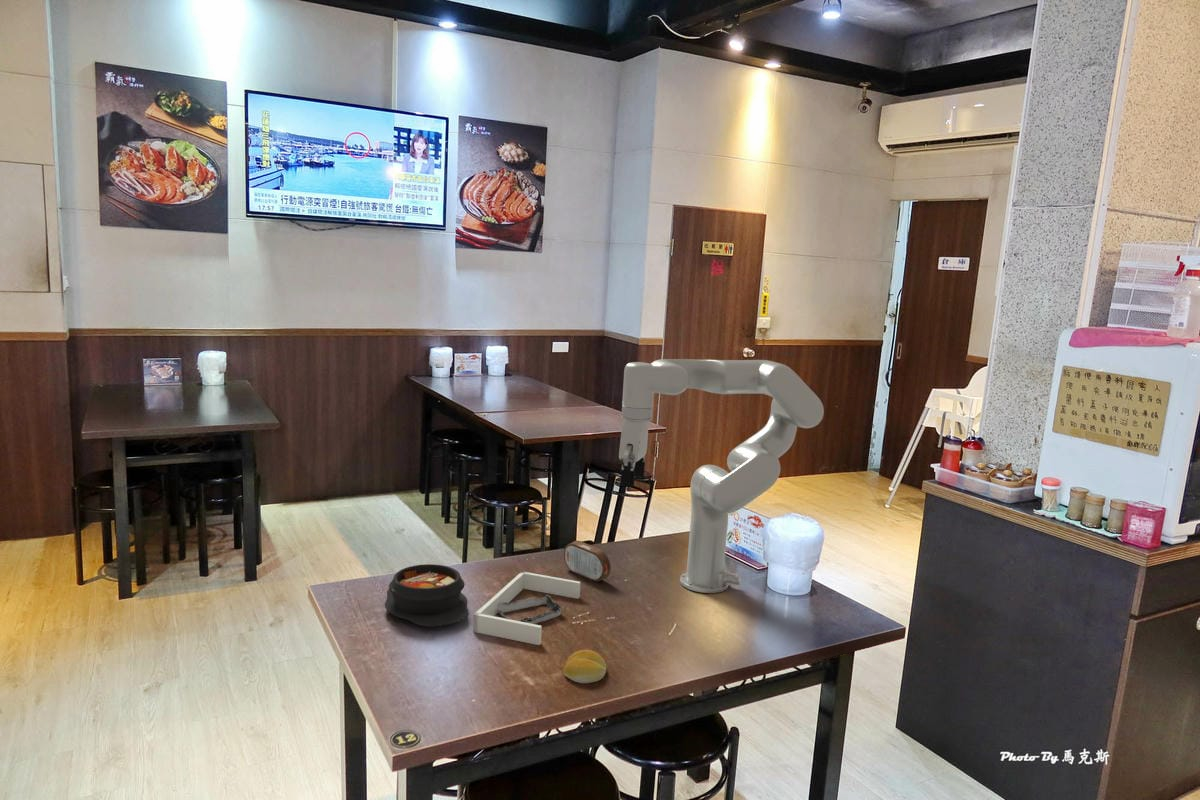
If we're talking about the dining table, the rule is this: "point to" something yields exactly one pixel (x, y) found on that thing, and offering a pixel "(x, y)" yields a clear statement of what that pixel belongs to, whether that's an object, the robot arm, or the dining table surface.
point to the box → (524, 580)
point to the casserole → (427, 595)
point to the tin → (587, 561)
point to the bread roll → (585, 667)
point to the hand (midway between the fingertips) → (632, 481)
